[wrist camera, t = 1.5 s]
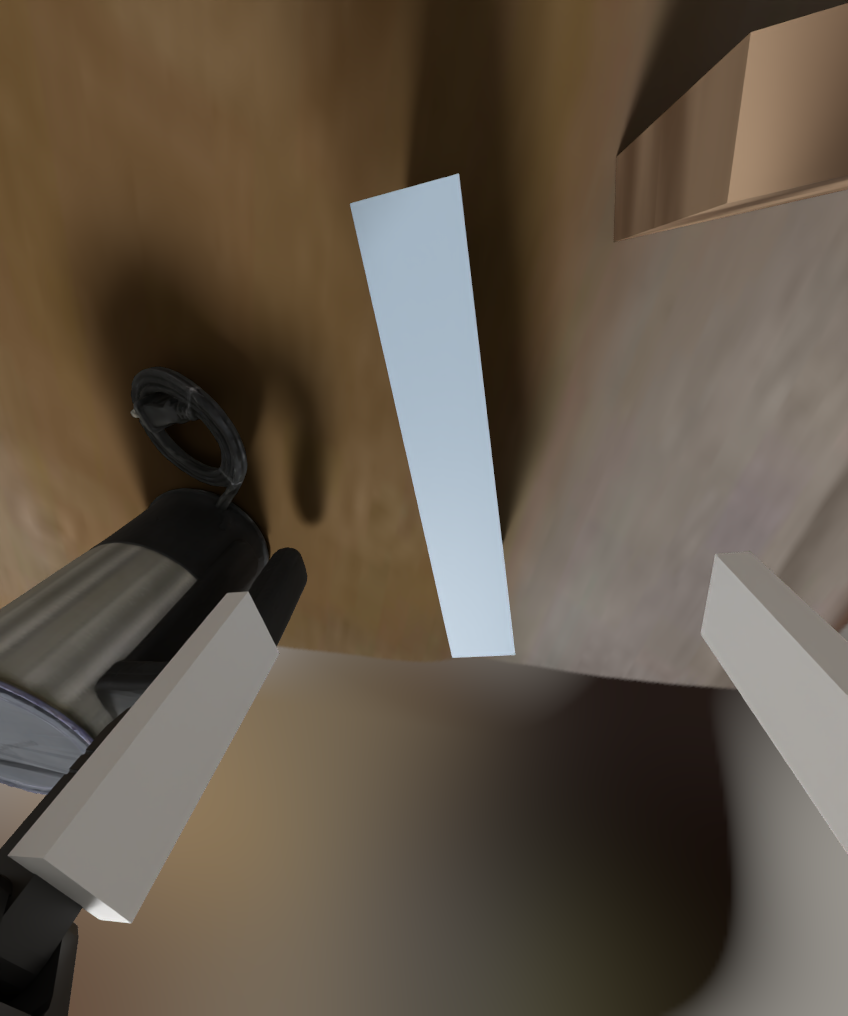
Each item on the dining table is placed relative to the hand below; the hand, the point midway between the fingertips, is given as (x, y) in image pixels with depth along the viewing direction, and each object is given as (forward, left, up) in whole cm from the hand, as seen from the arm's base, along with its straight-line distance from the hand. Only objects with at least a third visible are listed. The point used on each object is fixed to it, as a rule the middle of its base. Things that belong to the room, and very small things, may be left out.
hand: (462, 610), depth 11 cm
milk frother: (+1, -18, -14) cm, 23 cm away
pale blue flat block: (-2, 0, -14) cm, 14 cm away
